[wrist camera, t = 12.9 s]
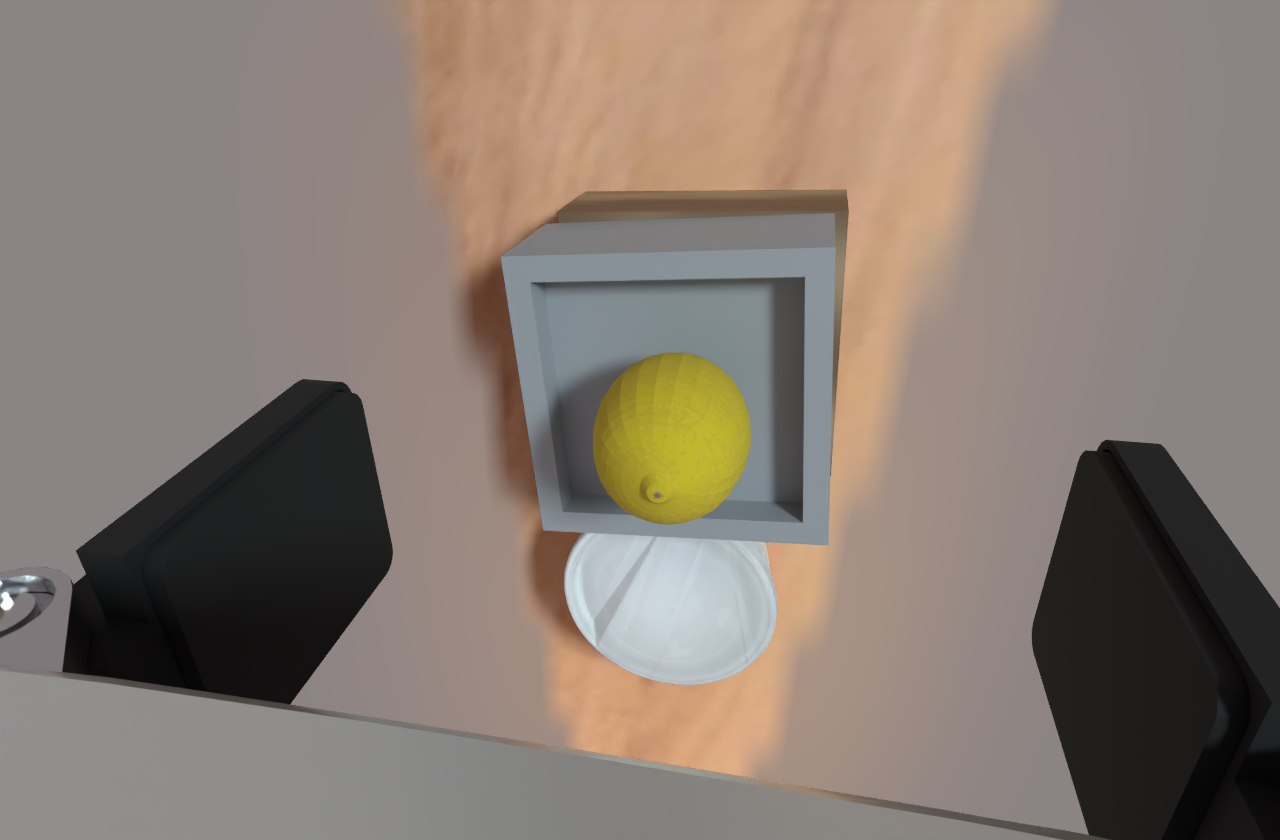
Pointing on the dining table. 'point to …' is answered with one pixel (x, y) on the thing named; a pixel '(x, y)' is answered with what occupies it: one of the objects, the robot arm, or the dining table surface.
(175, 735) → the robot arm
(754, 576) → the ramekin
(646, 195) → the tower bottom block
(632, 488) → the lemon
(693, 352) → the tower top block
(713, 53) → the dining table surface
